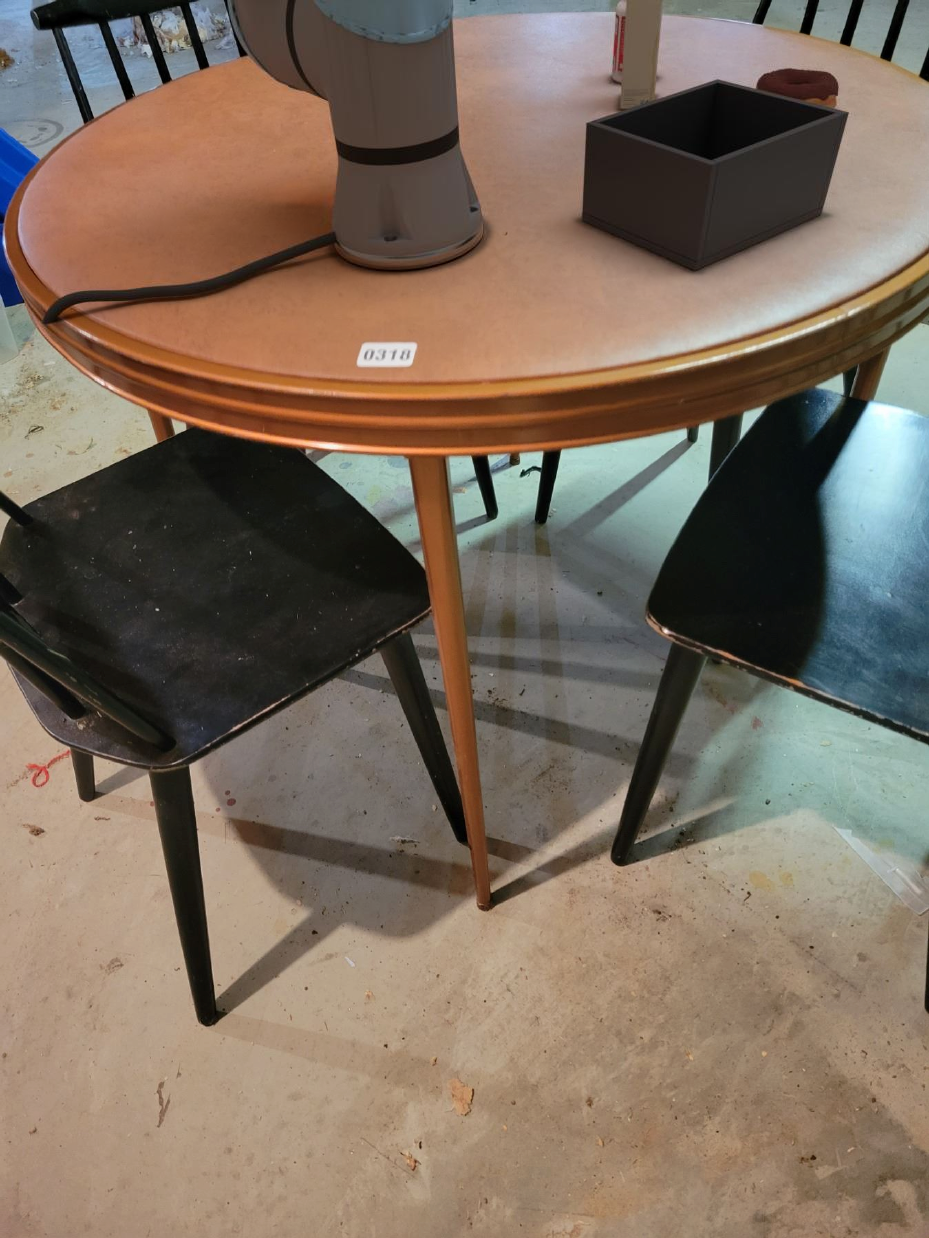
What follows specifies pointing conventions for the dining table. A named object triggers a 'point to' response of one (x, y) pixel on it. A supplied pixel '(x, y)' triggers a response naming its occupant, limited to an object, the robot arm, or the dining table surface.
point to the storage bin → (709, 170)
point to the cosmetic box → (640, 52)
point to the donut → (801, 85)
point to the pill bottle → (619, 41)
